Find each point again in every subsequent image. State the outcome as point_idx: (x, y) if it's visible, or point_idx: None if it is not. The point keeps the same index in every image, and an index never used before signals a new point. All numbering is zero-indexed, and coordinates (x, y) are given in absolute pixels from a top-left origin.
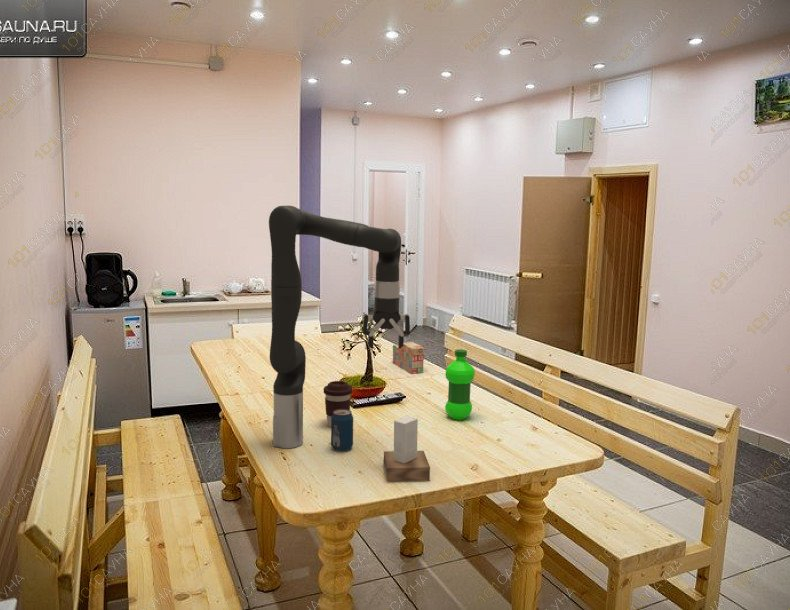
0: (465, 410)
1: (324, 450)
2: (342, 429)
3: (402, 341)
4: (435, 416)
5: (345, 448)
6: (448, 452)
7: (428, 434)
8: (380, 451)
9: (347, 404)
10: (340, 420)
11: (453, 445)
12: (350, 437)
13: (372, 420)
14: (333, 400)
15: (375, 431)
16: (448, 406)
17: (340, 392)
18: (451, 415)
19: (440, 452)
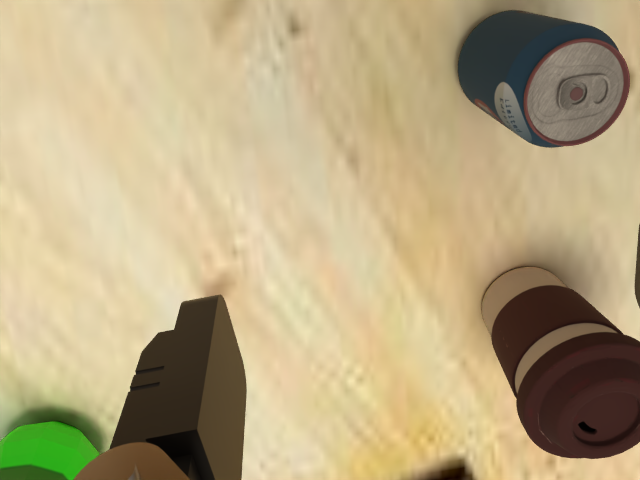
0: (2, 443)
1: None
2: (542, 20)
3: (147, 393)
4: None
5: (489, 17)
6: (23, 77)
7: (147, 263)
8: (330, 46)
9: (519, 335)
10: (576, 25)
11: (17, 161)
12: (483, 40)
13: (387, 364)
14: (597, 326)
15: (368, 261)
16: (78, 460)
17: (586, 347)
18: (74, 429)
19: (60, 72)
